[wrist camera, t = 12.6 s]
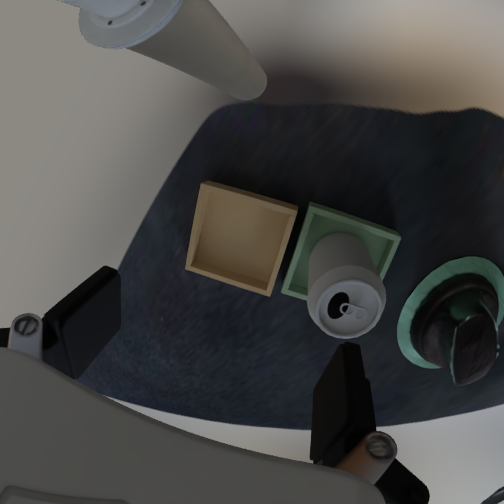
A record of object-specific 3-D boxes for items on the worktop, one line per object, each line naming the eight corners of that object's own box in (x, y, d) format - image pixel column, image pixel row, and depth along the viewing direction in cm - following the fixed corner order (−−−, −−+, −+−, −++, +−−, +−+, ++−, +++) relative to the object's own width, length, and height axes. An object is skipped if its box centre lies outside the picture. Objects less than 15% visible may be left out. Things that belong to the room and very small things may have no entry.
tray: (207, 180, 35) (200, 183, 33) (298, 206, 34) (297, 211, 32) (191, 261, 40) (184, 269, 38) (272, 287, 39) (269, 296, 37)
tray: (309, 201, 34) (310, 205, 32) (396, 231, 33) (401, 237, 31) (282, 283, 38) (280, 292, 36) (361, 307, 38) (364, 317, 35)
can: (318, 222, 34) (321, 263, 23) (376, 239, 34) (403, 285, 23) (301, 278, 37) (296, 335, 26) (356, 292, 36) (370, 351, 26)
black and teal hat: (370, 312, 37) (482, 222, 30) (404, 342, 47) (487, 278, 40) (416, 411, 26) (550, 306, 19) (436, 410, 36) (528, 341, 29)
